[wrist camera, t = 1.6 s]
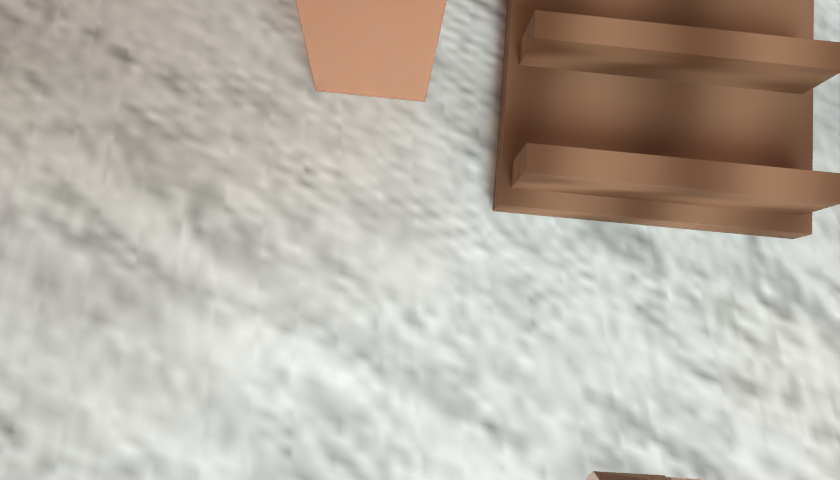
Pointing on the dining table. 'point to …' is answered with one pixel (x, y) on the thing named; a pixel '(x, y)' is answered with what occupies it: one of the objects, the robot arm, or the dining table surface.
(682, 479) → the robot arm
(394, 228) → the dining table surface
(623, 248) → the dining table surface
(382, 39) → the clay slab
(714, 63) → the rack
